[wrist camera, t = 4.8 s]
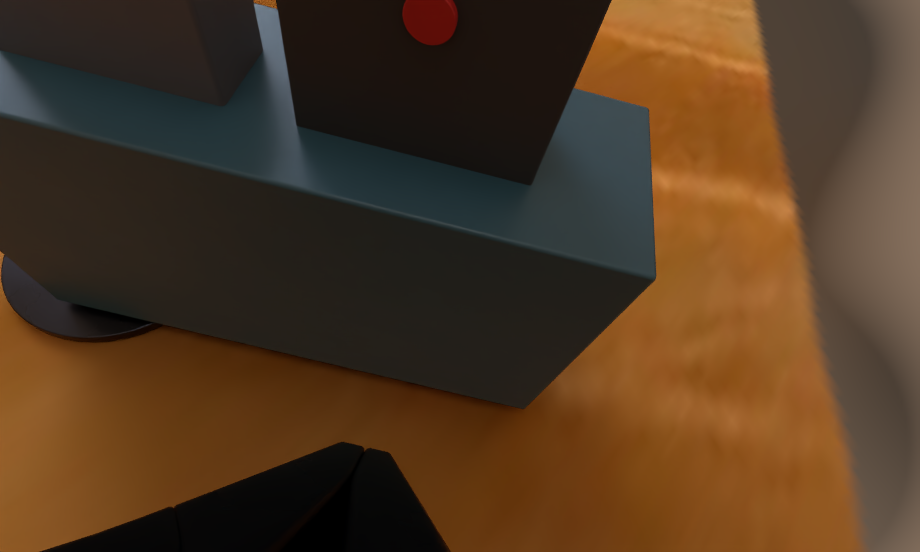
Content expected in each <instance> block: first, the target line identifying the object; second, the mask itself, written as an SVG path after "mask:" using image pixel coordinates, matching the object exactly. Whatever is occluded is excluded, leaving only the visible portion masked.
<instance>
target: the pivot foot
mask: <svg viewBox="0 0 920 552" xmlns="http://www.w3.org/2000/svg"><path fill="white" fill-rule="evenodd" d="M1 281H2V286H3V291H4V293H5V295H6V298H7V300H8V302H9V303H10V305H11V306H12V308H13V309H14V310H15V311H16V312H17V313H18V314H19V315H20V316H21V317H22V318H23V319H24V320H26V321H27V322H28V323H30V324H31V325H33V326H34V327H36V328H37V329H39V330H41V331H43V332H45V333H47V334H49V335H52V336H56V337H59V338H62V339H67V340H73V341H81V342H104V341H114V340H120V339H125V338H129V337H133V336H137V335H140V334H143V333H146V332H148V331H151V330H154V329H156V328H158V327H160V326H162V325H163V324H159V323H155V322H150V321H146V320H142V319H138V318H133V317H129V316H125V315H120V314H116V313H112V312H108V311H103V310H99V309H95V308H91V307H86V306H82V305H78V304H74V303H69V302H65V301H61V300H58V299H56V298H55V297H54V296H53V295H52V294H50V293H49V292H48V291H47V290H46V289H45V288H43V287H42V286H41V285H40V284H39V283H37V282H36V281H35V280H34V279H33V278H32V277H30V276H29V275H28V274H27V273H26V272H25V271H23V270H22V269H21V268H20V267H19V266H17V265H16V264H15V263H14V262H13V261H12V260H10V259H9V258H8V257H7V256H6V255H4V258H3V263H2V268H1Z"/></svg>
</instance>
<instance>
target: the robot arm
mask: <svg viewBox="0 0 920 552" xmlns="http://www.w3.org/2000/svg"><path fill="white" fill-rule="evenodd" d="M364 451H365V452H364ZM40 552H451V551H450V550H449V548H448V546H447V545H446V543H445V542H444V540H443V538H442V537H441V535H440V533H439V532H438V530H437V529H436V527H435V525H434V524H433V522H432V520H431V519H430V517H429V516H428V514H427V512H426V511H425V509H424V507H423V506H422V504H421V503H420V501H419V499H418V498H417V496H416V495H415V493H414V491H413V490H412V488H411V486H410V485H409V483H408V482H407V480H406V478H405V477H404V475H403V473H402V472H401V470H400V469H399V467H398V465H397V464H396V462H395V460H394V459H393V457H392V456H391V454H390V453H389V452H385V451H381V450H377V449H372V448H367V449H366V450H364V448H363V447H362V446H359V445H355V444H351V443H346V442H340V443H337V444H334V445H332V446H329V447H326V448H324V449H321V450H319V451H316V452H313V453H311V454H308V455H306V456H303V457H300V458H298V459H295V460H293V461H290V462H287V463H285V464H282V465H280V466H277V467H274V468H272V469H269V470H267V471H264V472H261V473H259V474H256V475H254V476H251V477H248V478H246V479H243V480H241V481H238V482H235V483H233V484H230V485H227V486H225V487H222V488H220V489H217V490H214V491H212V492H209V493H207V494H204V495H201V496H199V497H196V498H194V499H191V500H188V501H186V502H183V503H180V504H178V505H176V506H175V507H174V508H173V507H167V508H165V509H162V510H159V511H157V512H154V513H151V514H149V515H146V516H144V517H141V518H138V519H135V520H133V521H130V522H127V523H124V524H121V525H119V526H116V527H113V528H110V529H107V530H105V531H102V532H99V533H96V534H93V535H90V536H87V537H84V538H81V539H78V540H75V541H72V542H69V543H65V544H62V545H59V546H56V547H53V548H50V549H47V550H43V551H40Z"/></svg>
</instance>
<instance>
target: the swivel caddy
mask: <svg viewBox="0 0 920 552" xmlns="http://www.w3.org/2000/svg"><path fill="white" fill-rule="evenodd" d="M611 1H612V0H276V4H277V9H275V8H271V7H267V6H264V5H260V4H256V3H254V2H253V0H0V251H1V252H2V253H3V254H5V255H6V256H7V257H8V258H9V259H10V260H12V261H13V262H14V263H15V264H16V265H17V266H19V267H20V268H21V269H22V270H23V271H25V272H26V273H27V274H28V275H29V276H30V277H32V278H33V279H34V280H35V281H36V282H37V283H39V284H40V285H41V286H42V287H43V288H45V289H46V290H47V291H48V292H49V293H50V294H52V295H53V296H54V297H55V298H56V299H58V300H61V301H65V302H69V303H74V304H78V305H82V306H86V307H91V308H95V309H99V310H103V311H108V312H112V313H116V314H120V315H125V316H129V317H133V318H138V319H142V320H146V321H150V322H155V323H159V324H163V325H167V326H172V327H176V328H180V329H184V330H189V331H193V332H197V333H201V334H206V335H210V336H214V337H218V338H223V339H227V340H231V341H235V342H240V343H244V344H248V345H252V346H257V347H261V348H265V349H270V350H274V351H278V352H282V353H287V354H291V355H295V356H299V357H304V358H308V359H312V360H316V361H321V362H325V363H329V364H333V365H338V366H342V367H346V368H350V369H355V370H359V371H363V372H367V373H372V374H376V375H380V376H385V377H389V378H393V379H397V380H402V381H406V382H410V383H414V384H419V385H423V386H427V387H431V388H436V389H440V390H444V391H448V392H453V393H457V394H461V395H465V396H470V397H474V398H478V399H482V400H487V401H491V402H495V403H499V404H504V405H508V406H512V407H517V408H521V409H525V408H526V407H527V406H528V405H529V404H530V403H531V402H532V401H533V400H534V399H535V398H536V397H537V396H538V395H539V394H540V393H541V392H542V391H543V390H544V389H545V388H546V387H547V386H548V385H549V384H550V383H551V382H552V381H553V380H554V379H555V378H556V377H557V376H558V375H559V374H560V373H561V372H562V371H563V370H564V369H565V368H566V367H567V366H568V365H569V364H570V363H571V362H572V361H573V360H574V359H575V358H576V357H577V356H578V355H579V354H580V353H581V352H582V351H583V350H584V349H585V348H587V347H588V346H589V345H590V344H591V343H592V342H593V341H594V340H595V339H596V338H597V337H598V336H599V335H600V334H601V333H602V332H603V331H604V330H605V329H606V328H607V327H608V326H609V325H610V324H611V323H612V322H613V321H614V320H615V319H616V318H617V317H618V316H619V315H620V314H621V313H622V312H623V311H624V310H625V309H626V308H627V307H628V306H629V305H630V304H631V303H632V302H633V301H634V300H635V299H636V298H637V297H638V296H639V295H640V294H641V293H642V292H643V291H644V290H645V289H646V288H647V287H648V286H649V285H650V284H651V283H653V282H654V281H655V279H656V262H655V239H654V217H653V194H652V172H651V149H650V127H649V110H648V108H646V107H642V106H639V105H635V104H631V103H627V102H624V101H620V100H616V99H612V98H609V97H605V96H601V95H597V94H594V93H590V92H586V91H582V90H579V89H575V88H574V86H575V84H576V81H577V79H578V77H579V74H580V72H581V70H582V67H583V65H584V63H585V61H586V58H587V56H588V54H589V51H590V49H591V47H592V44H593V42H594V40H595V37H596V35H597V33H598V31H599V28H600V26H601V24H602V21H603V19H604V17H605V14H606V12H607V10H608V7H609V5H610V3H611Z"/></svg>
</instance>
